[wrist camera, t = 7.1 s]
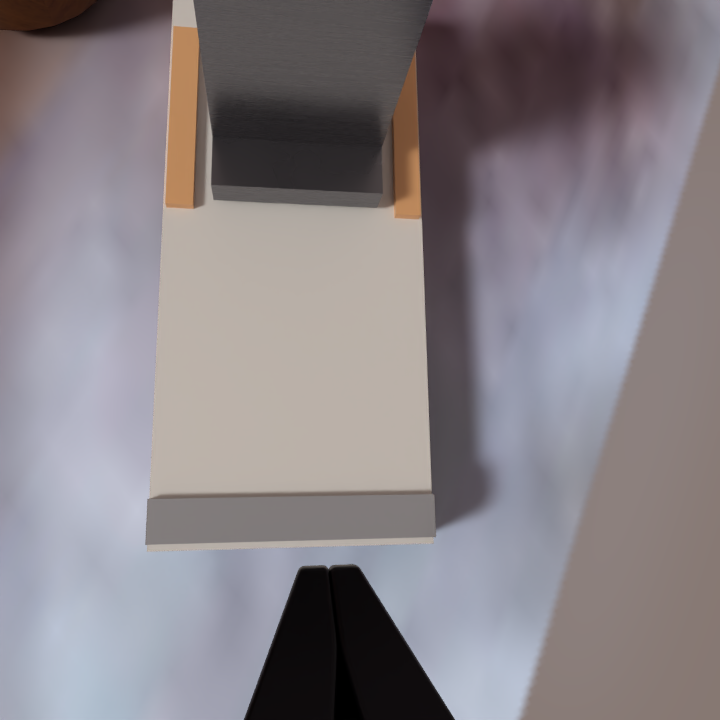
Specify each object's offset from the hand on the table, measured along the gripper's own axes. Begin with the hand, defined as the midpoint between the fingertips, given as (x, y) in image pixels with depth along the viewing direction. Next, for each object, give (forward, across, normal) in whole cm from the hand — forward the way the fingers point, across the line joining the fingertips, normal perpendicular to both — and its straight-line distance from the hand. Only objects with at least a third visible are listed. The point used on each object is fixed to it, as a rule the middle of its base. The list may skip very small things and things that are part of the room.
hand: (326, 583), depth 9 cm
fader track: (+14, 0, +2) cm, 14 cm away
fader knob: (+15, 0, -3) cm, 16 cm away
